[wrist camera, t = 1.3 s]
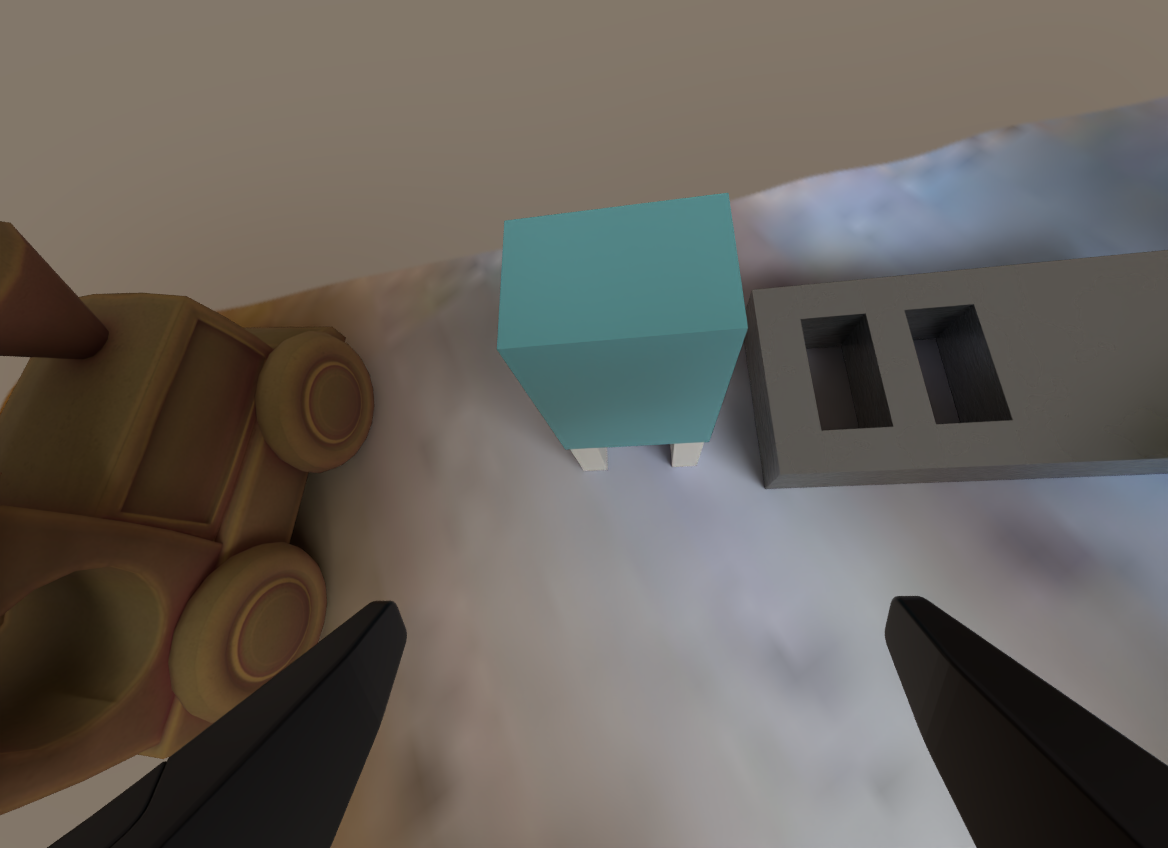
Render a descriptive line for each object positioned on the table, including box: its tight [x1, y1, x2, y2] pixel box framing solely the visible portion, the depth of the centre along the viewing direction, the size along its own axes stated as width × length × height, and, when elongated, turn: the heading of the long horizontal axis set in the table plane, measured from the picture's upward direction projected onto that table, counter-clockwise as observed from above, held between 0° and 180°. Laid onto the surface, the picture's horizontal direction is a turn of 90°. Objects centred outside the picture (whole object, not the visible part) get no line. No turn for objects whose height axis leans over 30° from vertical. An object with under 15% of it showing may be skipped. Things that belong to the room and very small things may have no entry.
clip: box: [497, 193, 748, 471], centre depth 18 cm, size 4×6×13 cm, turn 91°
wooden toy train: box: [0, 221, 374, 815], centre depth 18 cm, size 20×11×17 cm, turn 176°
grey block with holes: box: [744, 250, 1168, 489], centre depth 21 cm, size 9×18×3 cm, turn 91°
